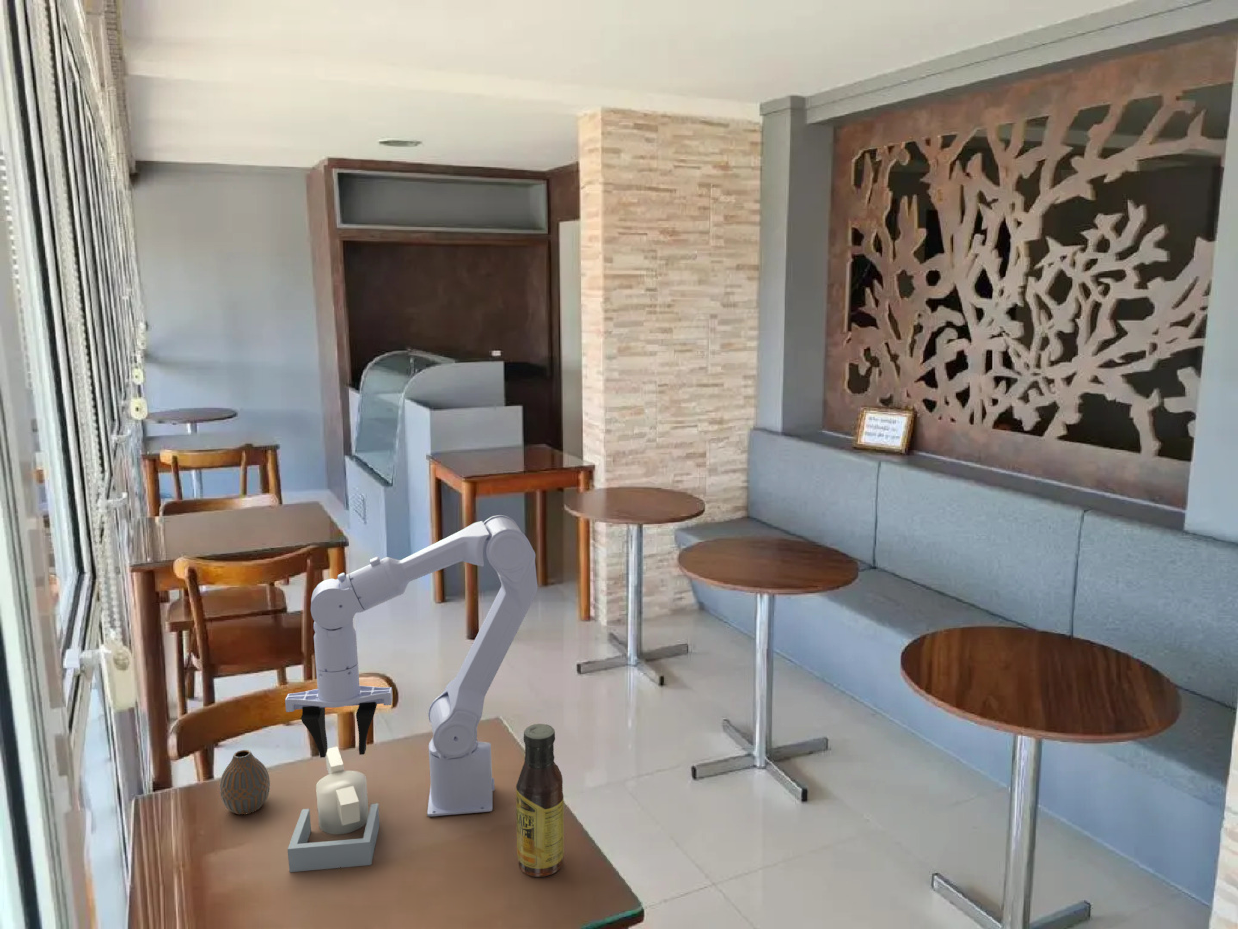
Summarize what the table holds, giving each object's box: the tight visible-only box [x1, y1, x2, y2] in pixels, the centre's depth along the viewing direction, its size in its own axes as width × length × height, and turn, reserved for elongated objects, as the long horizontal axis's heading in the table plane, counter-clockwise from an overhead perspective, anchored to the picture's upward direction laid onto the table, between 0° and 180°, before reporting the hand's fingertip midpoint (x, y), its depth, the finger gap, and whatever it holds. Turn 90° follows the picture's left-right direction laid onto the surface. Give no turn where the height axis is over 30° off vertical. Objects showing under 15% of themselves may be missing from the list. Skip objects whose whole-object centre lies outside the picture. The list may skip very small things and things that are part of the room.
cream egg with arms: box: [315, 746, 369, 835], centre depth 135 cm, size 17×7×7 cm, turn 25°
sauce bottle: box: [515, 723, 565, 878], centre depth 122 cm, size 6×6×20 cm
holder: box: [287, 802, 380, 873], centre depth 128 cm, size 11×10×3 cm
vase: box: [219, 749, 271, 815], centre depth 138 cm, size 7×7×9 cm
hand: (343, 752), depth 133 cm, fingers open, 5 cm apart
